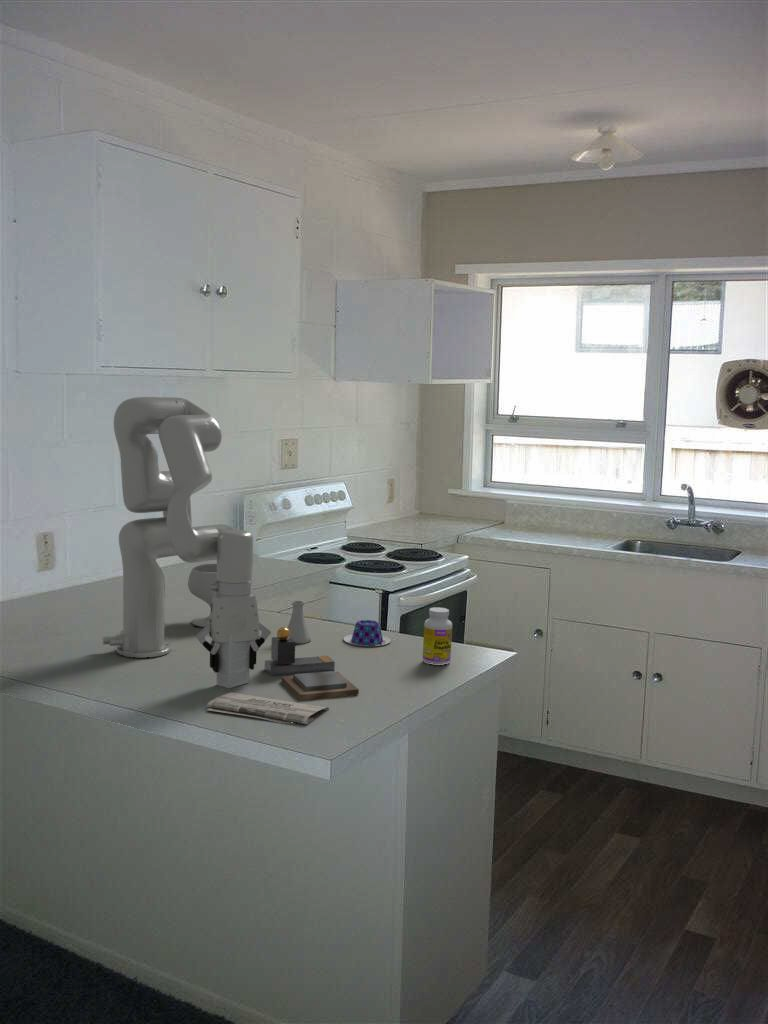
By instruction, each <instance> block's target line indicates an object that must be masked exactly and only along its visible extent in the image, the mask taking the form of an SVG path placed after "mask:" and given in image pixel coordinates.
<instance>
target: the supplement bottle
mask: <svg viewBox="0 0 768 1024" xmlns="http://www.w3.org/2000/svg"><path fill="white" fill-rule="evenodd" d="M428 615H429V618H427V619H426V620H425V621H424V624H423V644H422V661H425V662H427V663H433V664H443V663H448V662H450V663H451V655H452V639H453V638H452V637H453V622H452V621H451V620H449V616H450V610H449V609H448V608H445V607H430V608H429V610H428Z"/></svg>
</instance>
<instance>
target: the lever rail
mask: <svg viewBox="0 0 768 1024" xmlns="http://www.w3.org/2000/svg"><path fill="white" fill-rule="evenodd" d="M264 670H265V672H267V673H268V674H269V675H270V676H281V675H282V676H284V675H291V674H292V675H293V674H304V673H316V672H328V671H335V661H334V660H333V659H332V658H331V657H330V656H328V655H317V656H308V657H307V656H306V657H295V663H291V664H278V665H277V664H276V663H275V662H274V661H273V660H272V659H270V660H269V659H268V660H264Z"/></svg>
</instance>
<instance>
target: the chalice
mask: <svg viewBox="0 0 768 1024" xmlns="http://www.w3.org/2000/svg"><path fill="white" fill-rule="evenodd" d="M216 580H217V563H204V564H197V565H195V566H193V567H192V569H191V571H190V573H189V576H188V581H187V587H188V590H189V593H191V594H192V595H193V596H195V597H196V598H198V599H200V600H202V601H203V602H205V603H207V605H208V606H209V607H210V609H211V604H212V599H213V595H214V594H216V591H214V590H210V584H213V583H215V582H216ZM209 620H210V614H209V615H204V616H199V617H195V618H194V619H192V620H191V621H190V622H191V624H192V625H194V626H196V627H199V628H204V627H205V626H207V625H208V624H209Z"/></svg>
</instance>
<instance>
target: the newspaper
mask: <svg viewBox="0 0 768 1024" xmlns="http://www.w3.org/2000/svg"><path fill="white" fill-rule="evenodd" d="M206 707H208V708H207V709H206V711H211V712H216V713H217V712H218V713H223V714H224V713H225V714H230V715H237V716H244V717H251V718H257V719H262V720H266V721H270V722H275V723H279V724H285V725H287V724H286V723H290V724H289V725H297V724H304V725H308V724H309V723H310V722H312V721H314V719H312V718H313V717H311V716H312V715H315V713H318V712H319V711H329V710H330V709H329V707H327V706H321V705H314V704H309V703H303V702H301V703H300V702H294V701H287V700H282V699H277V698H271V697H263V696H256V695H249V694H243V693H237V692H228V693H225V694H222V695H220V696H216V698H214V699H212V700H209V702H208V703H207V706H206ZM291 722H293V723H291ZM294 722H297V724H296V723H294Z"/></svg>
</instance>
